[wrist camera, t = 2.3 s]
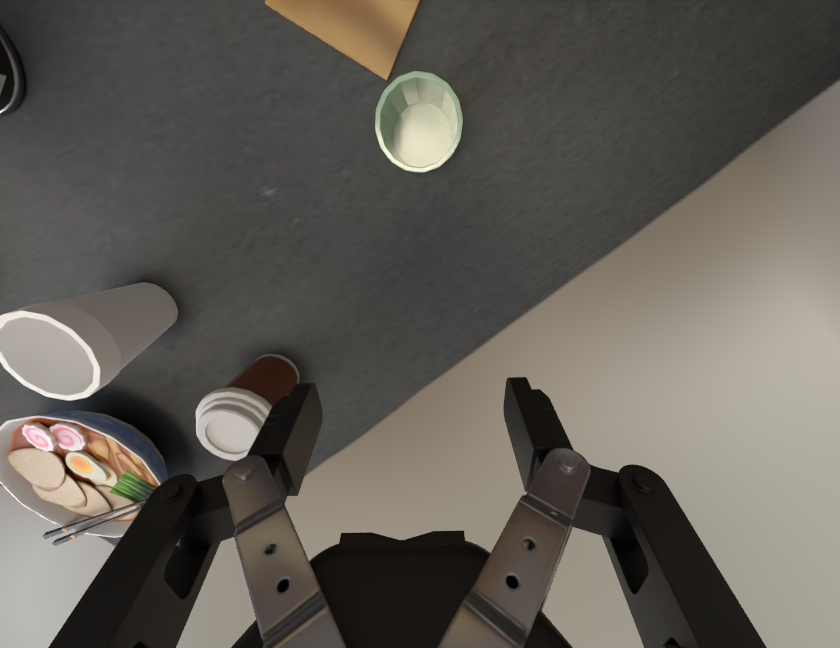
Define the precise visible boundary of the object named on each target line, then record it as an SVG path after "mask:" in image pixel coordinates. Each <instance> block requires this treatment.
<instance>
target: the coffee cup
mask: <svg viewBox="0 0 840 648" xmlns="http://www.w3.org/2000/svg"><path fill="white" fill-rule="evenodd" d="M299 377H300V375H299V372H298V369H297V367H296V366H295V365H294V364H293V363H292V361H291V360H289V359H287V358H286V357H284V356H282V355H277V354H266V355H263V356H261V357H259V358H258V359H256V360H255V362H253V363H252V364H251V365H250V366H249V367H248V368H246V369H245V370H244V371H243V372H242V373H241V374H239V375H238V376H237V377H236V378H235V379H234V380H232V381H231V382H230V383H229V384H228V385H227V386H225V387H224V388H221V389H216V390H214V391H213V392H211V393H210V394H208V395H206V396H205V397H204V398H203V399H202V400H201V402H200V404H199V406H198V408H197V409H196V435H197V436H198V438H199V440H200V442H201V443H202V445H203V446H204V447H205V448H206V449H207V450H209V451H210V452H211V453H212V454H215V455H217V456H219V457H221V458H223V459H228V460H234V461H237V460H239V459H241V458H243V457H246V456H247V454H248V452H249V450H250V448H251V446H252V444H253V442H254V440H255V439H256V437H257V435H258V433H259V431H260V429H261V427H262V426H263V425H264V424H263V423H264V421H265V420H266V418H267V417H268V414H269V412H270V410H271V408H272V406H273V405H274V404H275V403H276V402H277V401H278V400H279V399H280V398H281V397H282V396H289V395H290V393H291V391H292V389H293V387H294V385H295V384H297V383H299Z"/></svg>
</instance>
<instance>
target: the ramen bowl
mask: <svg viewBox="0 0 840 648" xmlns="http://www.w3.org/2000/svg"><path fill="white" fill-rule="evenodd" d="M166 480H168V477H167V472H166V467H165V462H164V458H163V457H162V455H161V454H160V452H159V451H158V450H157V448H156V447H155V445H154V444H153V442H152V441H151V440H150V439H149V438H148V437H147V436H145V435H144V434H143V433H142V432H140V431H139V430H138V429H136V428H135V427H134V426H132V425H130V424H128V423H125V422H123V421H121V420H119V419H116V418H114V417H112V416H109V415H107V414H101V413H94V412H87V411H78V410H67V411H57V412H50V413H44V414H38V415H33V416H27V417H22V418H18V419H13V420H9V421H6V422H5V423H4V424H3V425H2V426H1V427H0V484H1V485H2V486H3V487H4V488H5V489H6V490H7V491H8V492H10V494H11V495H12V496H13V497H14V498H16V500H17V501H19V502H20V504H22V505H23V506H25V507H27V508H28V509H30V510H32V511H33V512H35V513H37V514H38V515H40V516H42V517H43V518H45V519H47V520H48V521H50V522H52V523H55V524H58V525H61V526H63V527H61V528H58V529H55V530H52V531H49V532H46V533H45V534H44V535H43V537H44V538H45V539H46V538H49V537H52V536H55V535H57V534H60V533H63V532H65V531H68V530H74V531H77V532H75V533H72V534H69V535H67V536H64V537H62V538H59V539H57V540H55V541H54V542H53V543H52V544H53V545H55V546H57V545H59V544H61V543H64V542H66V541H68V540H71V539H73V538H75V537H78V536H80V535H82V534H90V535H97V536H105V537H121V536H123V535H124V534H125V532H126V531H127V529H128V528H129V526H130V525H131V523H132V522H133V520H134V519H135V517H136V516H137V514H138V513H139V511H140V510H141V508H142V507H143V505H144V504H145V502H146V501H147V499H148V498H149V496H150V495H151V493H152V492H153V491H154V490H155V489H156V488H157V487H158V486H159V485H160V484H162V483H163V482H164V481H166Z"/></svg>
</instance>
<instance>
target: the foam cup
mask: <svg viewBox="0 0 840 648" xmlns="http://www.w3.org/2000/svg"><path fill="white" fill-rule="evenodd" d="M177 316H178V309H177V306H176V303H175V301H174V299H173V298H172V297H171V296H170V295H169V293H168V292H167V291H166V290H164V289H162V288H161V287H159V286H157V285H156V284H151V283H146V282H142V283H137V284H132V285H128V286H123V287H119V288H114V289H109V290H105V291H100V292H96V293H91V294H87V295H82V296H78V297H73V298H69V299H64V300H60V301H55V302H53V301H46V302H42V303H37V304H33V305H30V306H27V307H24V308H21V309H18V310H15V311H12V312H9V313H6V314H3V315H1V316H0V362H1V364H2V365H3V367H4V368H5V369H6V370H7V371H8V372H9V373H10V374H12V375H13V376H14V377H15V378H16V379H17V380H18V381H20V382H21V383H22V384H23V385H24V386H26V387H28V388H30V389H32V390H34V391H36V392H38V393H40V394H42V395H44V396H46V397H51V398H57V399H62V400H67V401H71V400H76V399H81V398H86V397H89V396H90V395H92V394H93V393H95V392H96V391H98V390H99V389H101V388H102V387H104V386H105V385H107V384H108V383H110V382H111V381H112V380H113V379H114V378H115V377H116V376H117V375H118V374H119V373H120V370H121V369H123V368H124V367H125V366H126V365H127V364H128V363H130V362H131V361H132V360H133V359H134V358H135V357H136V356H138V355H139V354H140V353H141V352H142V351H143V350H144V349H146V348H147V347H148V346H149V345H150V344H151V343H153V342H154V341H155V340H156V339H157V338H158V337H159V336H161V335H162V334H163V333H164V332H165V331H166V330H168V329H169V328H170V327H171V326H172V325H173V324H174V323H175V322H176V321H177Z"/></svg>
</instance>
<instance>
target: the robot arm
mask: <svg viewBox="0 0 840 648" xmlns="http://www.w3.org/2000/svg"><path fill="white" fill-rule="evenodd" d="M23 93H24V76H23V71H22V67H21V64H20V61H19V58H18V56H17V54H16V51H15V49H14V48H13V46H12V44H11V42H10V41H9V39H8V38H7V36H6V35H5V33H4V32H3V31H2V29H1V28H0V116H2V115H6V114H9V113H11V112H12V111H14V110H15V109H16V108H17V107H18V105H19V104H20V102H21V100H22V97H23ZM504 418H505V422H506V425H507V429H508V433H509V436H510V440H511V443H512V447H513V450H514V454H515V457H516V461H517V464H518V468H519V471H520V475H521V479H522V482H523V486H524V489H525V491H526V492H527V494H526V495H525V496H524V495H523V496H522V497H521V498H520V500H519V502H518V503H517V505H516V507H515V509H514V511H513V513H512V515H511V516H510V518H509V520H508V522H507V524H506V526H505V528H504V530H503V532H502V533H501V536H500V537H499V539H498V541H497V543H496V545H495V546H494V549H493V550H492V552H491V553H490V552H488V551H486V550H485V549H484V548H482V547H480V546H478V545H476V544H474V543H471V542H468V541H465V537H464V531H433V532H430V533H427V534H423V535H420V536H416V537H413V538H410V539H406V540H397V539H393V538H389V537H386V536H382V535H379V534H375V533H341V537H340V542H339V544H337V545H334V546H332V547H330V548H328V549H325V550H324V551H322V552H321V553H319V554H318V555H316V556H315V557H314V558H312V559H311V560H310V561H309V560H308V558H307V555H306V553H305V551H304V549H303V546H302V544H301V542H300V539H299V537H298V535H297V532H296V530H295V528H294V525H293V523H292V521H291V518H290V517H289V514H288V511H287V509H286V507H285V501H286V498H287V496H298V493H299V490H300V487H301V484H302V481H303V478H304V475H305V472H306V469H307V466H308V463H309V460H310V457H311V454H312V451H313V448H314V445H315V442H316V439H317V436H318V433H319V430H320V427H321V424H322V408H321V404H320V400H319V396H318V392H317V388H316V385H315V383H297V384H295V385H294V387H293V389H292V391H291V393H290V395H289V396H282V397H281V398H280V399H279V400H278V401H277V402H276V403H275V404H274V405H273V406H272V408H271V410H270V412H269V414H268V417H267V418H266V420H265V421H264V423H263V424H264V425H263V426H262V427H261V429H260V431H259V433H258V435H257V437H256V439H255V440H254V442H253V444H252V446H251V448H250V450H249V452H248V454H247V456H246V457H243V458H241V459H239V460H237V461H236V462H234V463H233V464H232V465H231V466H230V467H229V468H228V469H227V470H226V472H225V474H223V475H221V476H217V477H214V478H211V479H207V480H204V481H201V482H197V481H196V479H195V478H194V477H193V476H192V475H188V474H182V475H178V476H174V477H172V478H170V479H168V480H166V481H164V482H163V483H162V484H160V485H159V486H158V487H157V488H156V489H155V490H154V491H153V492H152V493H151V495H150V496H149V498H148V499H147V501H146V502H145V504H144V505H143V507H142V508H141V510H140V511H139V513H138V514H137V516H136V517H135V519H134V520H133V522H132V523H131V525H130V526H129V528H128V529H127V531H126V532H125V534H124V535H123V537H122V538H121V540H120V541H119V543H118V544H117V546H116V547H115V549H114V550H113V552H112V553H111V555H110V556H109V558H108V559H107V561H106V562H105V564H104V565H103V567H102V568H101V570H100V571H99V573H98V574H97V576H96V577H95V579H94V580H93V582H92V583H91V585H90V586H89V588H88V589H87V590H86V592H85V593H84V595H83V596H82V598H81V599H80V601H79V603H78V604H77V606H76V607H75V608H74V610H73V612H72V613H71V614H70V616H69V617H68V619H67V621H66V622H65V624H64V625H63V627H62V628H61V630H60V631H59V632H58V634H57V636H56V637H55V639H54V640H53V641H52V643H51V644H50V646H49V648H176V646H177V644H178V641H179V639H180V637H181V634H182V632H183V629H184V627H185V625H186V622H187V620H188V618H189V615H190V613H191V610H192V608H193V606H194V603H195V601H196V599H197V596H198V594H199V592H200V589H201V587H202V585H203V582H204V580H205V577H206V575H207V573H208V570H209V568H210V566H211V563H212V561H213V559H214V556H215V554H216V552H217V549H218V547H219V544H220V542H221V541H223V540H226V539H229V538H232V537H234V538H235V541H236V545H237V549H238V553H239V556H240V560H241V564H242V568H243V571H244V575H245V579H246V582H247V586H248V589H249V594H250V597H251V601H252V604H253V608H254V612H255V616H256V620H255V622H254V623H253V624H252V625H251V626H250V627H249V628H248V629H247V630H246V632H245V633H244V634H243V635H242V636H241V637H240V638H239V639H238V640H237V642H236V643H235V644H234V645H233V646H232V647H231V648H573V647H572V646H571V645H570V644H569V643H568V641H567V640H566V639H565V638H564V637H563V636H562V634H561V633H560V632H559V631H558V630H557V628H556V627H555V626H554V625H553V624H552V623H551V621H550V620H549V619H548V618H547V617H546V616H545V614H544V613H543V612H542V609H543V607H544V604H545V601H546V599H547V596H548V593H549V591H550V588H551V585H552V582H553V579H554V576H555V574H556V571H557V568H558V565H559V563H560V560H561V557H562V555H563V552H564V549H565V547H566V544H567V541H568V539H569V536H570V533H571V530H572V528H573V527H576V528H579V529H582V530H586V531H589V532H592V533H595V534H598V535H602V537H603V540H604V543H605V545H606V548H607V550H608V553H609V556H610V558H611V561H612V564H613V566H614V569H615V571H616V574H617V577H618V579H619V582H620V585H621V587H622V590H623V593H624V595H625V598H626V600H627V603H628V606H629V608H630V611H631V614H632V616H633V619H634V622H635V624H636V627H637V629H638V632H639V635H640V637H641V640H642V643H643V645H644V648H766V646H765V644H764V643H763V641H762V640H761V638H760V636H759V635H758V633H757V631H756V630H755V628H754V626H753V625H752V623H751V621H750V620H749V618H748V617H747V615H746V613H745V612H744V610H743V608H742V607H741V605H740V604H739V602H738V600H737V599H736V597H735V595H734V594H733V592H732V591H731V589H730V587H729V586H728V584H727V582H726V581H725V579H724V577H723V576H722V574H721V573H720V571H719V570H718V568H717V566H716V564H715V563H714V561H713V559H712V558H711V556H710V555H709V553H708V551H707V550H706V548H705V546H704V545H703V543H702V541H701V540H700V538H699V537H698V535H697V533H696V532H695V530H694V528H693V527H692V525H691V523H690V522H689V520H688V519H687V517H686V515H685V514H684V512H683V510H682V509H681V507H680V506H679V504H678V502H677V501H676V499H675V497H674V496H673V494H672V493H671V491H670V489H669V488H668V486H667V485H666V483H665V482H664V480H663V479H662V478H661V477H660V476H659V475H658V474H656V473H655V472H653V471H652V470H650V469H648V468H645V467H643V466H639V465H626V466H624V467H622V468H621V469H620V471H619V473H618V472H614V471H610V470H605V469H601V468H598V467H595V466H592V465H590V464H589V463H588V462H587V461H586V459H585V458H584V457H583V456H582V455H580V454H579V453H577V452H576V451H574V450H573V448H572V446H571V444H570V441H569V439H568V437H567V435H566V433H565V431H564V429H563V426H562V424H561V422H560V420H559V418H558V416H557V414H556V411H555V410H554V407H553V405H552V403H551V401H550V399H549V397H548V396H547V395H545V394H544V393H543V392H542V391H541V390H540V389H537V390H532V389H531V387H530V385H529V383H528V380H527V378H526V377H517V378H507V381H506V389H505V398H504Z"/></svg>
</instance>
